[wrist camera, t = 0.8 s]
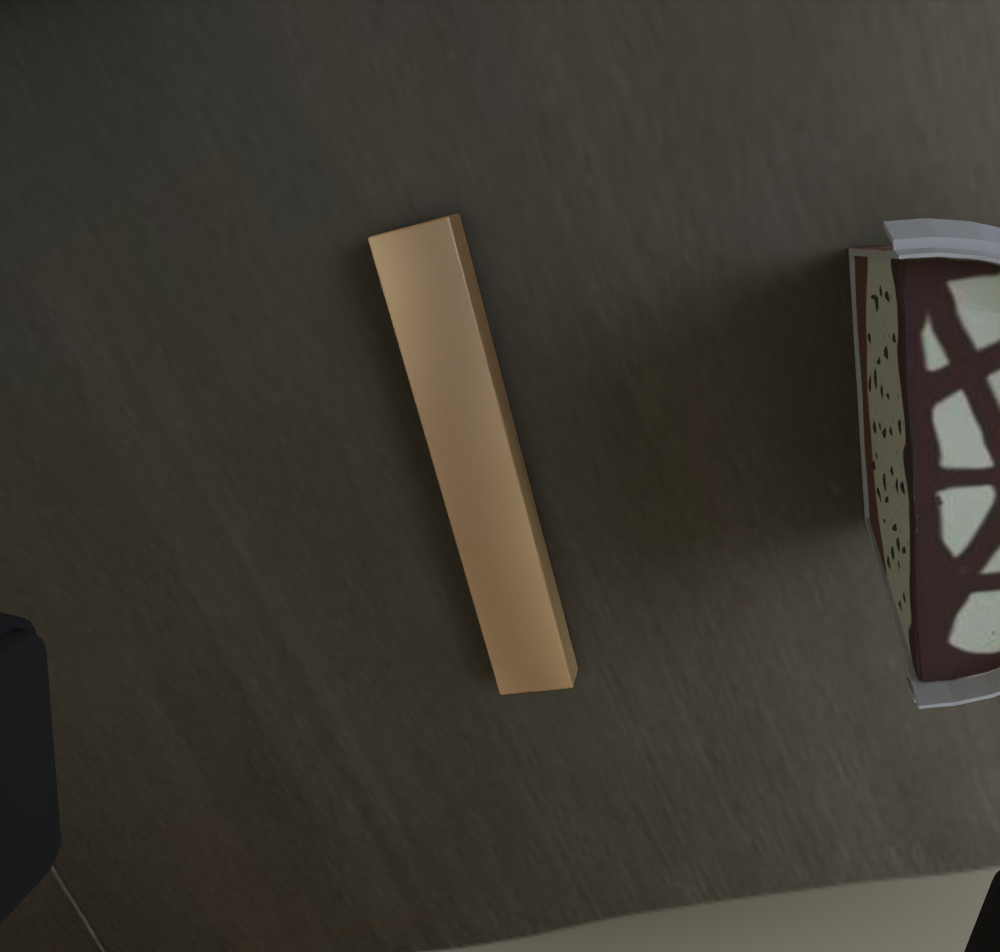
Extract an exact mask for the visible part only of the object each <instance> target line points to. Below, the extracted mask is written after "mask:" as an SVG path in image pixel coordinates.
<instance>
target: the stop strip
mask: <svg viewBox="0 0 1000 952" xmlns="http://www.w3.org/2000/svg"><path fill="white" fill-rule="evenodd" d="M368 241H369V245H370V248H371V252H372V255H373V258H374V262H375V265H376V269H377V272H378V276H379V279H380V283H381V286H382V289H383V293H384V296H385V300H386V303H387V307H388V310H389V314H390V317H391V320H392V324H393V327H394V331H395V334H396V338H397V341H398V345H399V348H400V351H401V355H402V358H403V362H404V365H405V369H406V372H407V376H408V379H409V382H410V386H411V389H412V393H413V396H414V400H415V403H416V407H417V410H418V413H419V417H420V420H421V424H422V427H423V431H424V434H425V438H426V441H427V444H428V448H429V451H430V455H431V458H432V462H433V465H434V469H435V472H436V475H437V479H438V482H439V486H440V489H441V493H442V496H443V500H444V503H445V506H446V510H447V513H448V517H449V520H450V524H451V527H452V531H453V534H454V537H455V541H456V544H457V548H458V551H459V555H460V558H461V562H462V565H463V568H464V572H465V575H466V579H467V582H468V586H469V589H470V593H471V596H472V599H473V603H474V606H475V610H476V613H477V617H478V620H479V624H480V627H481V630H482V634H483V637H484V641H485V644H486V648H487V651H488V655H489V658H490V661H491V665H492V668H493V672H494V675H495V679H496V682H497V686H498V689H499V692H500V695H505V694H515V693H525V692H535V691H545V690H556V689H566V688H572V687H573V685H574V682H575V678H576V675H577V671H578V666H577V662H576V659H575V655H574V651H573V647H572V643H571V639H570V636H569V632H568V628H567V624H566V620H565V616H564V613H563V609H562V605H561V601H560V597H559V593H558V590H557V586H556V582H555V578H554V574H553V570H552V566H551V563H550V559H549V555H548V551H547V547H546V543H545V540H544V536H543V532H542V528H541V524H540V520H539V517H538V513H537V509H536V505H535V501H534V497H533V494H532V490H531V486H530V482H529V478H528V474H527V471H526V467H525V463H524V459H523V455H522V451H521V448H520V444H519V440H518V436H517V432H516V428H515V425H514V421H513V417H512V413H511V409H510V405H509V402H508V398H507V394H506V390H505V386H504V382H503V379H502V375H501V371H500V367H499V363H498V359H497V356H496V352H495V348H494V344H493V340H492V336H491V333H490V329H489V325H488V321H487V317H486V313H485V309H484V306H483V302H482V298H481V294H480V290H479V286H478V283H477V279H476V275H475V271H474V267H473V263H472V260H471V256H470V252H469V248H468V244H467V240H466V237H465V233H464V229H463V225H462V221H461V217H460V215H459V213H455V214H451V215H448V216H444V217H440V218H437V219H433V220H429V221H425V222H422V223H418V224H414V225H411V226H407V227H403V228H399V229H396V230H392V231H388V232H384V233H381V234H377V235H374V236H370V237H369V238H368Z"/></svg>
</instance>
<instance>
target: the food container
mask: <svg viewBox="0 0 1000 952" xmlns="http://www.w3.org/2000/svg"><path fill="white" fill-rule="evenodd" d="M883 228H884V230H885V232H886V234H887V236H888V238H889V240H890V242H891V244H892V246H878V245H876V246H864V247H852V248H848V250H849V267H850V283H851V300H852V316H853V333H854V349H855V366H856V382H857V399H858V415H859V432H860V448H861V465H862V481H863V498H864V514H865V523H866V527H867V530H868V534H869V537H870V541H871V544H872V548H873V551H874V555H875V558H876V562H877V565H878V569H879V572H880V576H881V580H882V583H883V587H884V590H885V594H886V597H887V601H888V604H889V608H890V611H891V615H892V618H893V622H894V625H895V629H896V632H897V636H898V640H899V643H900V647H901V650H902V654H903V657H904V661H905V664H906V668H907V671H908V675H909V677H907V678H905V679H906V685H907V687H908V689H909V692H910V694H911V696H912V698H913V701H914V703H917V705H918V708H919V709H922V708H933V707H944V706H955V705H960V704H965V703H969V702H974V701H979V700H983V699H988V698H993V697H996V696H999V695H1000V228H998V227H994V226H989V225H985V224H980V223H976V222H971V221H959V220H944V219H929V218H920V219H908V220H895V221H883Z"/></svg>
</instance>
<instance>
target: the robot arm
mask: <svg viewBox="0 0 1000 952" xmlns="http://www.w3.org/2000/svg"><path fill="white" fill-rule="evenodd" d="M60 843H61V832H60V819H59V806H58V794H57V781H56V768H55V755H54V743H53V730H52V717H51V705H50V692H49V679H48V666H47V654H46V647H45V643H44V642H43V640H42V639H41V638H40V637H38V636H36V631H35V628H34V626H33V625H32V623H31V622H30V621H28V620H26V619H25V618H22V617H18V616H13V615H9V614H5V613H1V612H0V924H1V923H2V922H3V920H4V919H5V918H6V917H7V916H8V915H9V914H10V913H11V912H12V911H13V910H14V909H15V908H16V907H17V906H18V904H19V903H20V902H21V901H22V900H23V899H24V898H25V897H26V896H27V895H28V894H29V893H30V892H31V891H32V889H33V888H34V887H35V886H36V885H37V884H38V883H39V882H40V881H41V880H42V879H43V878H44V877H45V875H46V874H47V873H48V871H49V870H50V869H51V867H52V865H53V863H54V862H55V859H56V857H57V854H58V852H59V848H60ZM965 952H1000V870H999V871H998V872H997V873H996V874H995V876H994V879H993V880H992V883H991V885H990V888H989V890H988V893H987V895H986V898H985V900H984V903H983V906H982V908H981V911H980V913H979V916H978V919H977V921H976V924H975V926H974V929H973V931H972V934H971V936H970V939H969V941H968V944H967V947H966V949H965Z"/></svg>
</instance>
